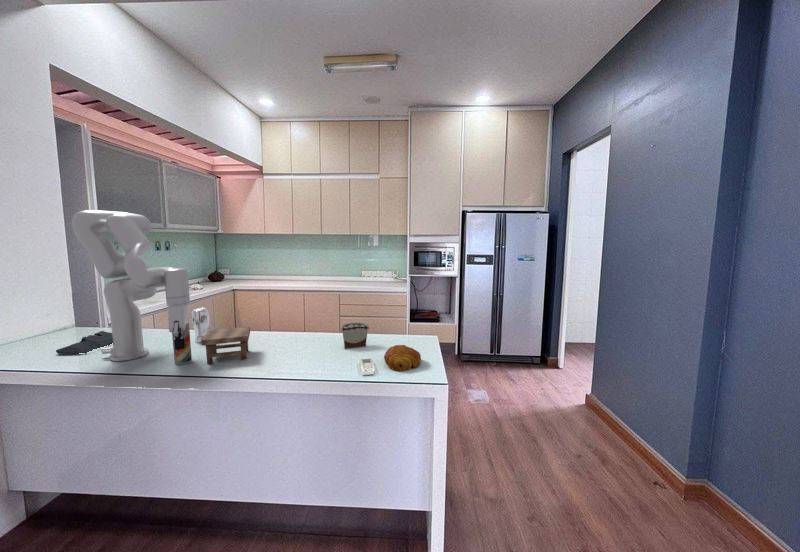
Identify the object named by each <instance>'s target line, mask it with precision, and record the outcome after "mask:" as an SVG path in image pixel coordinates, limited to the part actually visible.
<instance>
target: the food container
mask: <svg viewBox="0 0 800 552" xmlns="http://www.w3.org/2000/svg"><path fill="white" fill-rule="evenodd" d="M368 330H370V328H369V325H368V324H367V323H363V322H348V323H345V324H343V325H342V326H341V329H340V331H341V332H342V337H343V343H344V344H343V346H344V350H350V349H359V348H360V349H361V348H366V347H367V338H368Z"/></svg>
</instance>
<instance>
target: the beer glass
mask: <svg viewBox="0 0 800 552" xmlns="http://www.w3.org/2000/svg"><path fill="white" fill-rule="evenodd" d="M191 323H192V326H193V330H194V335H195V337H194V342H195V343H197V344H198V343H200V344H202V342H201V340H202V339H203V337H204V336H205V334H206V333H207V331H208V330H210V328H209V327H210V312H209V308H208V307H197V308H193V309H191Z"/></svg>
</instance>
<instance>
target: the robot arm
mask: <svg viewBox="0 0 800 552" xmlns="http://www.w3.org/2000/svg"><path fill="white" fill-rule="evenodd" d="M71 225H72V226H71V227H72V230H73V233H74V236H75V237H76V238H77V240H78V241H79V242H80V243H81V245H82V246H83V247H84V248H85V250H86V251H87V254H88V256H89V257H90V259H91V261H92V264H93V265H94V267H95V269H96V270H97V272H98V274H99V275H100V276H101V277H102V278H103V279H114V280H111V281H110V282H107V284H106V285H105V286H104V287H103V294H104V299H105V301H106V304H107V306H108V311H109V320H110V328H111V333H112V338H113V345H112V346H111V347H105V348H102V349H100V352H101V354H102V355H107V354H110V355H109V361H113V362H125V361H131V360H135V359H139V358H142V357H144V356H147V355H149V353H150V350H149V349H148V348H146V347H144V337H143V325H142V315H141V310H140V308H139V307H138V306H137V305H136V304H135V303H134V302H136V301H141V300H146V299H147V300H148V299H150V298H152V297H154V296H155V295H156V293H157V289H158V288H162V287H165V288H164V290H165V300H166V301H165V302H166V307H168V314H167V315H168V319H167V320H168V332H169V333H172V331H173V330H174V332H173V334H174V346H175V350H177V349H184V348H185V342H184V338H183V331H184V330H185V328H186V324H187V323H189V324H190V317H189V316H190V315H189V306H188V305H190V304H191V299H190V298H191V297H190V284H189V273H188V272H189V271H188V270H187V268H184V267H172V266H159V267H158V266H157V267H148V266H147V264H146V262H145V261H144V259H143V258H142V257H141V255H144V254H145V253H147V252H148V251H149V250H150V249H151V246H152V244H151V241H149V239H148V238H147V235H149V234H150V233H151V231H152V223H151V221H150V219H148V218H147V216H145V215H142V214H138V213H130V212H126V211H115V210H114V211H113V210H97V209H86V210H81V211H78V212H76V213H75V214H74V215H73V217H72V221H71ZM102 233H111V234H112V235H113V237H114V238H115V240H116V241H117V242H118V244H119V245H120V246H121V248H122V249H123V250H124V252H125V253H120V252H119V251H118V250H117V248H116V246H115V245H114V242H112V241H111V240H110V239H109V238H107V236H105V235H103V234H102ZM119 278H120V279H119ZM173 328H174V329H173ZM179 329H181V331H178V330H179ZM179 332H181V334H180V333H179Z"/></svg>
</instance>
